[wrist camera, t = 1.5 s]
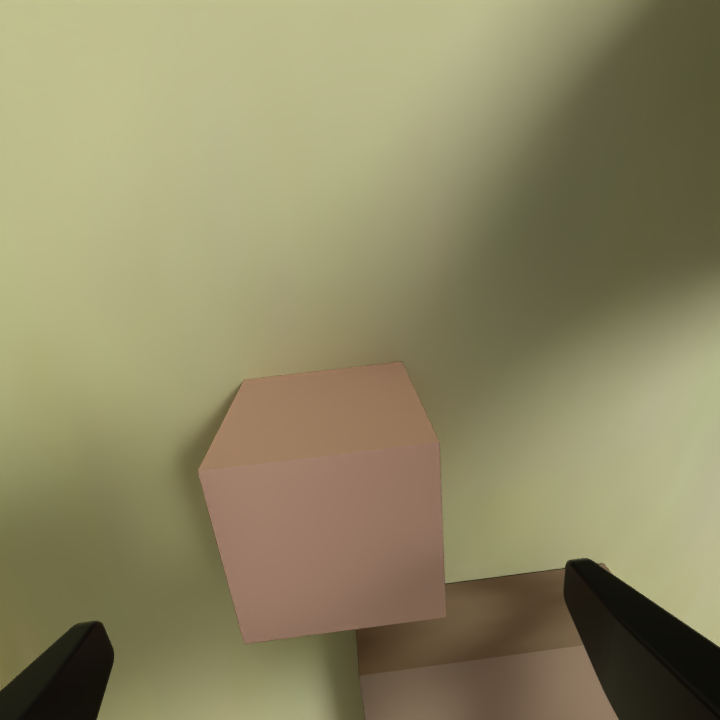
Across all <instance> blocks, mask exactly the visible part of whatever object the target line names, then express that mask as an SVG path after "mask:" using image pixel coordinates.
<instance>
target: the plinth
mask: <svg viewBox="0 0 720 720" xmlns="http://www.w3.org/2000/svg"><path fill="white" fill-rule="evenodd" d="M598 565H600V566H601V567H603V568H604V569H606V570H607V571H609V569H608V568H607V567H606V565H605V564H598ZM609 572H610V571H609ZM610 573H611V572H610ZM564 575H565V569H559V570H551V571H544V572H536V573H528V574H521V575H513V576H505V577H498V578H490V579H482V580H475V581H467V582H459V583H452V584H445V600H446V617H445V618H437V619H429V620H422V621H414V622H407V623H399V624H391V625H384V626H376V627H369V628H361V629H356V634H357V650H358V667H359V679H360V686H361V693H362V700H363V707H364V714H365V720H619V719H618V718H617V716H616V714H615V712H614V710H613V708H612V706H611V705H610V703H609V701H608V699H607V697H606V695H605V693H604V691H603V689H602V686H601V684H600V682H599V680H598V678H597V675H596V673H595V671H594V668H593V666H592V664H591V661H590V659H589V657H588V654H587V652H586V650H585V647H584V645H583V643H582V641H581V638H580V636H579V634H578V631H577V629H576V627H575V624H574V622H573V620H572V617H571V615H570V613H569V610H568V608H567V606H566V603H565V600H564V595H563V586H564Z"/></svg>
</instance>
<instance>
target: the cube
mask: <svg viewBox="0 0 720 720" xmlns="http://www.w3.org/2000/svg"><path fill="white" fill-rule="evenodd" d="M198 474H199V478H200V482H201V485H202V489H203V493H204V497H205V500H206V504H207V508H208V511H209V515H210V519H211V522H212V526H213V530H214V534H215V537H216V541H217V545H218V548H219V552H220V556H221V559H222V563H223V567H224V571H225V574H226V578H227V582H228V585H229V589H230V593H231V596H232V600H233V604H234V608H235V611H236V615H237V619H238V622H239V626H240V630H241V633H242V637H243V641H244V644H247V643H255V642H262V641H270V640H278V639H285V638H293V637H300V636H308V635H316V634H323V633H331V632H338V631H346V630H353V629H361V628H369V627H376V626H384V625H391V624H399V623H407V622H414V621H422V620H429V619H437V618H445V617H446V600H445V574H444V548H443V523H442V497H441V471H440V445H439V440H438V438H437V436H436V434H435V432H434V429H433V427H432V425H431V423H430V421H429V419H428V416H427V414H426V412H425V410H424V408H423V406H422V403H421V401H420V399H419V397H418V395H417V393H416V390H415V388H414V386H413V384H412V382H411V380H410V377H409V375H408V373H407V371H406V369H405V367H404V365H403V362H402V361H401V362H393V363H384V364H375V365H367V366H358V367H349V368H341V369H332V370H323V371H315V372H306V373H297V374H289V375H280V376H271V377H263V378H254V379H245V380H244V381H243V383H242V385H241V386H240V388H239V390H238V392H237V394H236V396H235V398H234V400H233V402H232V404H231V406H230V408H229V410H228V412H227V414H226V416H225V418H224V420H223V422H222V424H221V426H220V428H219V430H218V432H217V434H216V436H215V438H214V440H213V442H212V444H211V446H210V448H209V450H208V452H207V454H206V456H205V458H204V460H203V462H202V464H201V465H200V467H199V469H198Z"/></svg>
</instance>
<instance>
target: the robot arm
mask: <svg viewBox="0 0 720 720" xmlns="http://www.w3.org/2000/svg"><path fill="white" fill-rule="evenodd" d="M563 595H564V600H565V603H566V606H567V608H568V610H569V613H570V615H571V617H572V620H573V622H574V624H575V627H576V629H577V631H578V634H579V636H580V638H581V641H582V643H583V645H584V647H585V650H586V652H587V654H588V657H589V659H590V661H591V664H592V666H593V668H594V671H595V673H596V675H597V678H598V680H599V682H600V684H601V686H602V689H603V691H604V693H605V695H606V697H607V699H608V701H609V703H610V705H611V706H612V708H613V710H614V712H615V714H616V716H617V718H618V719H619V720H720V647H719V646H717V645H716V644H714V643H713V642H711V641H710V640H708V639H707V638H705V637H704V636H703V635H701V634H700V633H698V632H697V631H695V630H694V629H692V628H691V627H689V626H688V625H686V624H685V623H683V622H682V621H681V620H679V619H678V618H676V617H675V616H673V615H672V614H670V613H669V612H667V611H666V610H664V609H663V608H661V607H660V606H658V605H657V604H656V603H654V602H653V601H651V600H650V599H648V598H647V597H645V596H644V595H642V594H641V593H639V592H638V591H636V590H635V589H634V588H632V587H631V586H629V585H628V584H626V583H625V582H623V581H622V580H620V579H619V578H617V577H616V576H614V575H613V574H612V573H610V572H609V571H607V570H606V569H604V568H603V567H601V566H600V565H598V564H597V563H595V562H594V561H592V560H590V559H588V558H581V559H573V560H569V561H567V563H566V566H565V575H564V586H563ZM113 662H114V650H113V647H112V644H111V642H110V640H109V637H108V635H107V633H106V630H105V628H104V626H103V624H102V623H101V622H100V621H90V622H82V623H78V624H76V625H74V626H73V627H72V628H70V629H69V630H68V631H67V632H66V633H65V634H64V635H63V636H61V637H60V638H59V639H58V640H57V641H56V642H55V643H54V644H52V645H51V646H50V647H49V648H48V649H47V650H46V651H45V652H44V653H42V654H41V655H40V656H39V657H38V658H37V659H36V660H35V661H33V662H32V663H31V664H30V665H29V666H28V667H27V668H26V669H25V670H23V671H22V672H21V673H20V674H19V675H18V676H17V677H16V678H14V679H13V680H12V681H11V682H10V683H9V684H8V685H7V686H6V687H4V688H3V689H2V690H1V691H0V720H97V717H98V713H99V710H100V707H101V703H102V700H103V696H104V693H105V690H106V686H107V683H108V680H109V676H110V673H111V669H112V666H113Z"/></svg>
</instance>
